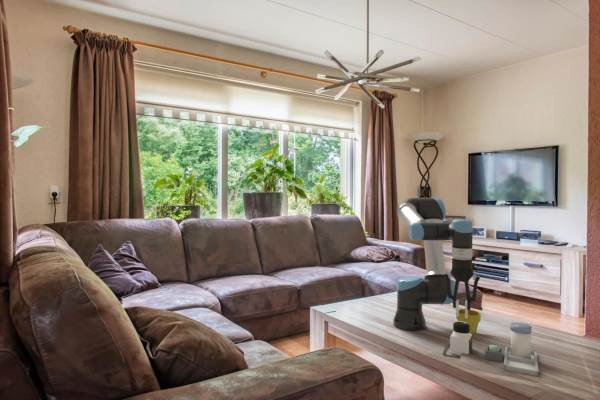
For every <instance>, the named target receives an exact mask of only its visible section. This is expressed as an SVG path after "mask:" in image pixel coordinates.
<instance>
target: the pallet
mask: <svg viewBox="0 0 600 400" xmlns="http://www.w3.org/2000/svg"><path fill="white" fill-rule="evenodd" d="M510 348H511V346H507V345H505V346H504V348H503V347H500V352H494V351H489V345H485V350H484V355H485V357H484V360H485V359H486V360H490V361H491V360H492V361H496V362H497V361H498V362H502V363H503V370H504V371H509V372H515V373H520V374H524V375H531V376H535V377H539V373H540V370H539V363H538V362H539V361H538V355H537V350H532V349H531V359H526V358H520V357H514V356H511V355H510Z"/></svg>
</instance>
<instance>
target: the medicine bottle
mask: <svg viewBox="0 0 600 400" xmlns="http://www.w3.org/2000/svg"><path fill="white" fill-rule="evenodd" d="M452 326H453V327H452V331H453V332H452V333H451V334H450V338H449V339H450V340H449V344H450V345H449V350H450V351H449V353H450V354H451V355H454V356H459V357H461V356H462V354H465V355H466V354H467V355H470V354H471V352H472V350H473V333H470V325H469V324H468V323H466V322H461V321H458V320H457V321H454V322H453V324H452Z"/></svg>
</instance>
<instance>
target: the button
mask: <svg viewBox="0 0 600 400" xmlns="http://www.w3.org/2000/svg"><path fill="white" fill-rule="evenodd" d="M488 346H489V351H494V352H500V348H501V347H500V346H499V345H498V344H497V345H496V344H489V345H488Z"/></svg>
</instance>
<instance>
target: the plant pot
mask: <svg viewBox="0 0 600 400" xmlns="http://www.w3.org/2000/svg"><path fill="white" fill-rule="evenodd" d="M481 315H482V313H481V312H480V311H477V310H475V309H470V310H468V317H467V319H466V318H465V308H459V316H458V317H456V316H455V318H456V320H457V321H461V322H466V323H468V324H469V325H470V334H477V331H478V326H479V323H480V322H481Z"/></svg>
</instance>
